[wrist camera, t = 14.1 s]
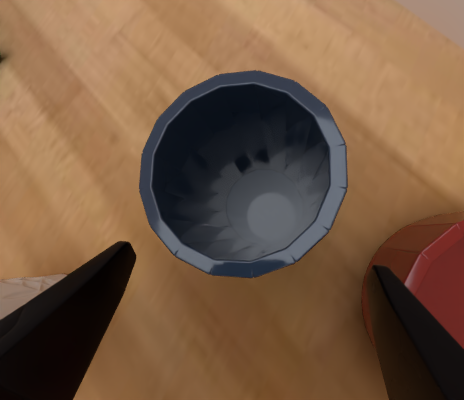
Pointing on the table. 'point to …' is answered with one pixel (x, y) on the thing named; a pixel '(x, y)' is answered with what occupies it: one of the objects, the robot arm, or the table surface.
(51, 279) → the white cup
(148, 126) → the table surface
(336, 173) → the crock
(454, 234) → the dutch oven
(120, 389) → the table surface
